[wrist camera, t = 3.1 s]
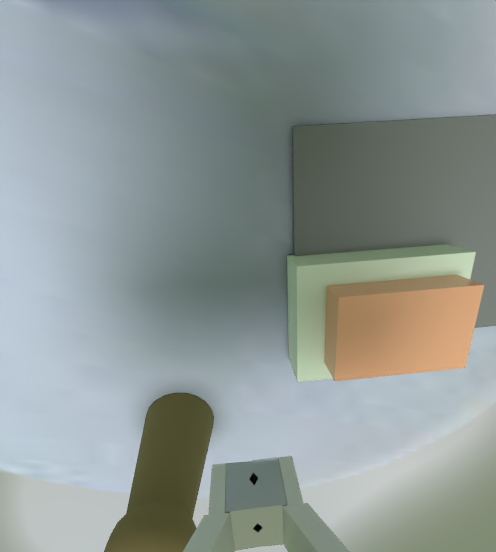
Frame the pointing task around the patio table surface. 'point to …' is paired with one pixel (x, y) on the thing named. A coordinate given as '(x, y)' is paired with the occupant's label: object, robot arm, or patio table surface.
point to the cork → (166, 477)
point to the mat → (399, 190)
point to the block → (400, 326)
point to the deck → (348, 270)
